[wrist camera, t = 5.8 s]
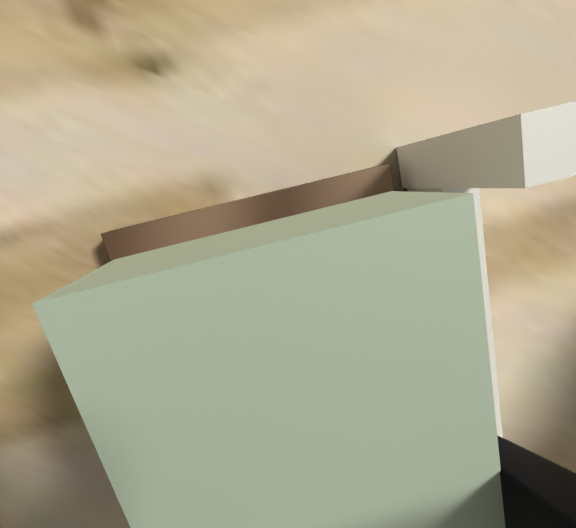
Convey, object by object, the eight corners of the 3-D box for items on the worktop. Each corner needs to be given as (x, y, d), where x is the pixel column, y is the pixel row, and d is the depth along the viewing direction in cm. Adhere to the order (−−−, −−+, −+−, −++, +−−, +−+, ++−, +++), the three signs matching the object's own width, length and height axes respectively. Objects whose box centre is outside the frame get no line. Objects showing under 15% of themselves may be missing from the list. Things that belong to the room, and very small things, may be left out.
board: (450, 569, 11) (524, 708, 8) (250, 632, 10) (250, 802, 8) (391, 191, 8) (473, 193, 5) (114, 259, 8) (31, 303, 5)
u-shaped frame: (434, 138, 13) (589, 97, 7) (472, 445, 16) (597, 590, 10) (396, 147, 13) (520, 114, 7) (441, 454, 16) (551, 606, 10)
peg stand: (379, 165, 13) (436, 156, 9) (425, 450, 16) (482, 535, 12) (112, 230, 12) (49, 250, 8) (213, 512, 15) (201, 622, 11)
